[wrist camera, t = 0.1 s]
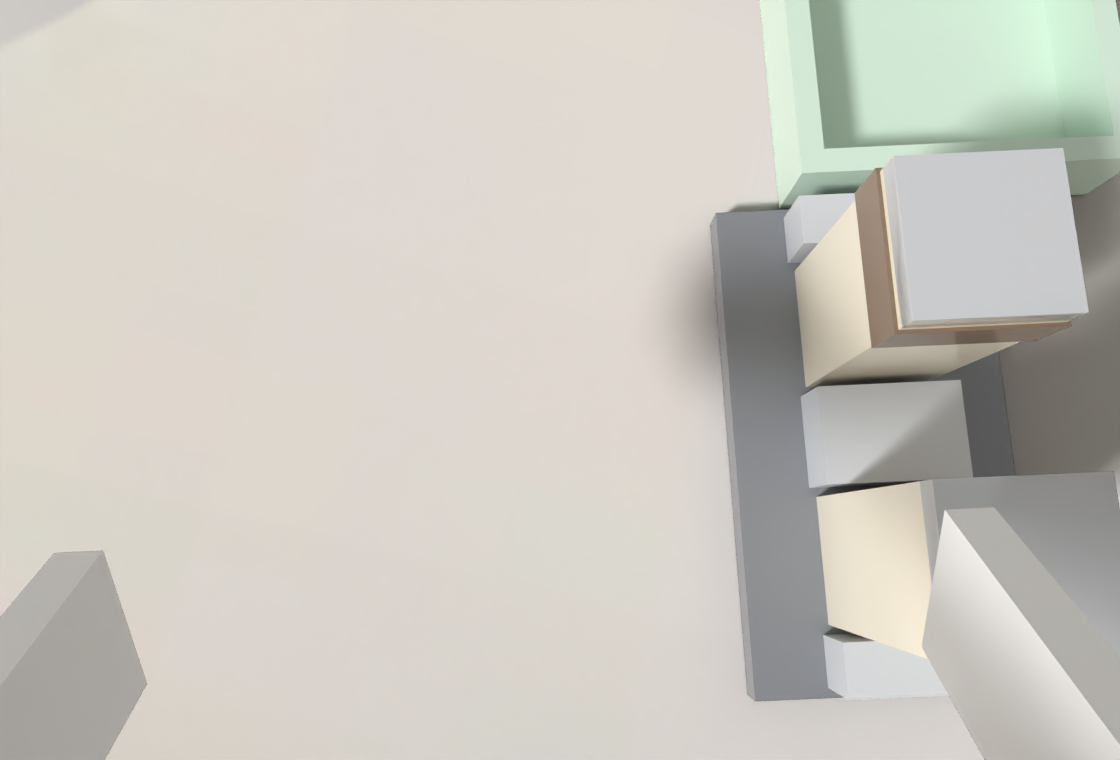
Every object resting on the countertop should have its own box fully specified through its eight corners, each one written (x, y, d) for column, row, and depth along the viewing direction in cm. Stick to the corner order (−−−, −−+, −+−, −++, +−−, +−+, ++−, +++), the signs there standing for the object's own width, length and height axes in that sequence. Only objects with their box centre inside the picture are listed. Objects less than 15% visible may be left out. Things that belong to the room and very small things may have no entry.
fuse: (955, 618, 27) (1143, 659, 18) (828, 624, 27) (954, 668, 18) (940, 491, 28) (1113, 471, 19) (816, 497, 28) (932, 479, 19)
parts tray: (1086, 194, 31) (1143, 157, 28) (779, 208, 31) (802, 172, 28) (1042, -80, 33) (1090, -143, 30) (753, -66, 33) (771, -127, 30)
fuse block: (1024, 681, 28) (1082, 700, 25) (747, 694, 28) (769, 714, 25) (962, 213, 31) (1006, 177, 28) (710, 225, 31) (726, 190, 28)
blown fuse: (930, 384, 29) (1094, 316, 20) (803, 390, 29) (909, 325, 20) (915, 262, 29) (1066, 143, 20) (791, 268, 29) (888, 151, 20)
